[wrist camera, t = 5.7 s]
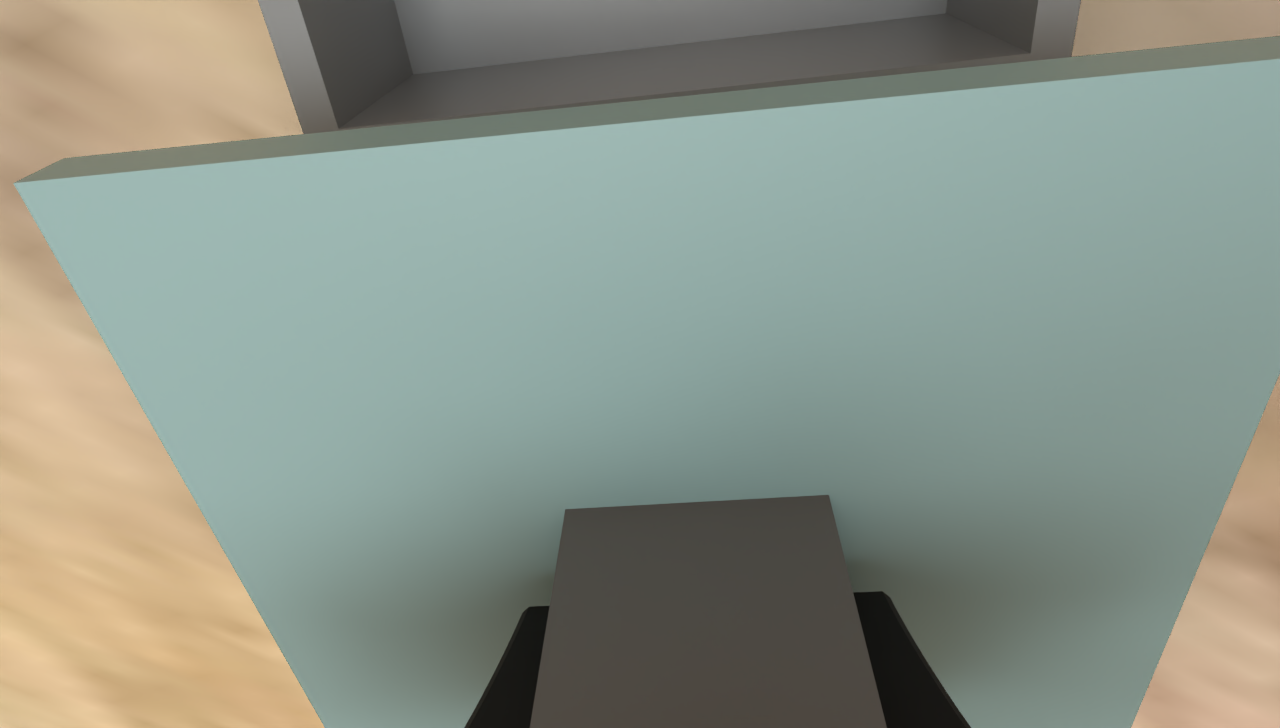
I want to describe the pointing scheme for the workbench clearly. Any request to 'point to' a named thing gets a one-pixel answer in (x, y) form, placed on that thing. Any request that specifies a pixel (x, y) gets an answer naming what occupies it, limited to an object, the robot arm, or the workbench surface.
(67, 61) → the workbench surface
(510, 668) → the robot arm
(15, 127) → the workbench surface
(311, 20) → the grey bin
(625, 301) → the teal lid
